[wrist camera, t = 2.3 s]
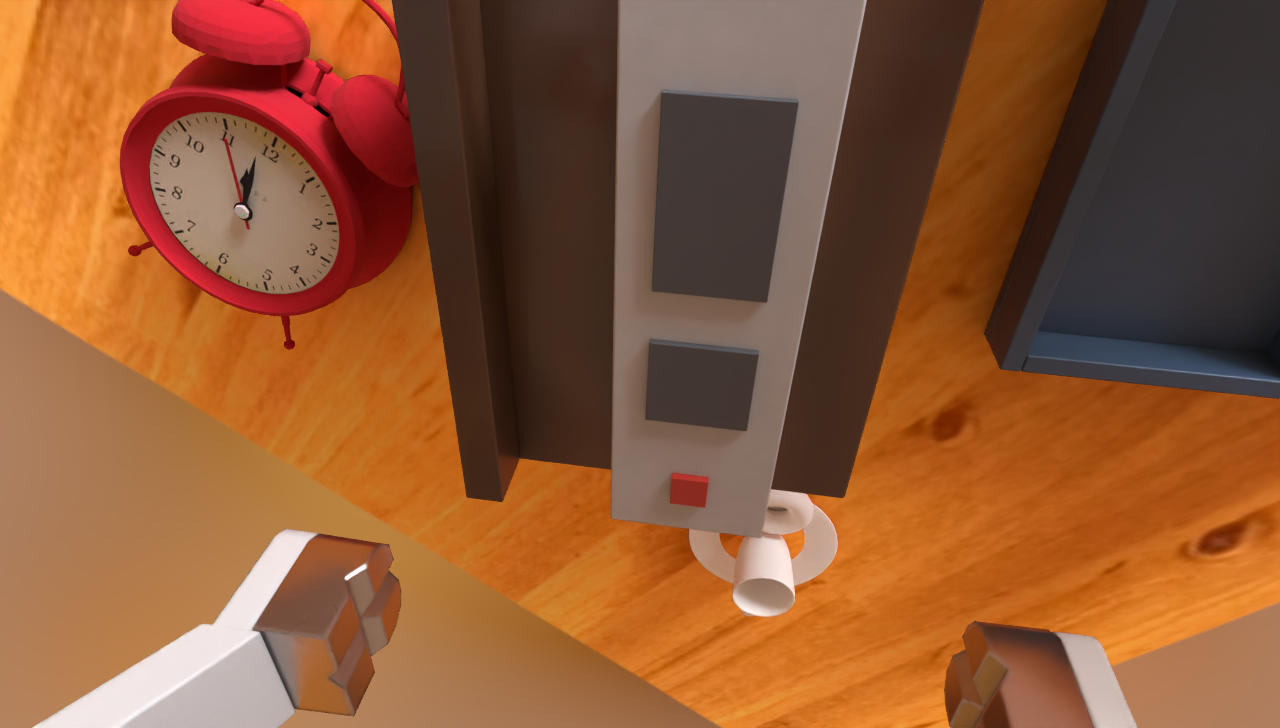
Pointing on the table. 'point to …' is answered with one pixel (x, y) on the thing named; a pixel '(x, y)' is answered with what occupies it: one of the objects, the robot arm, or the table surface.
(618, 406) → the remote
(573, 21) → the shelf
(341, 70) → the table surface
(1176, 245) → the tray
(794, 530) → the white piece
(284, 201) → the alarm clock
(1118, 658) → the table surface
